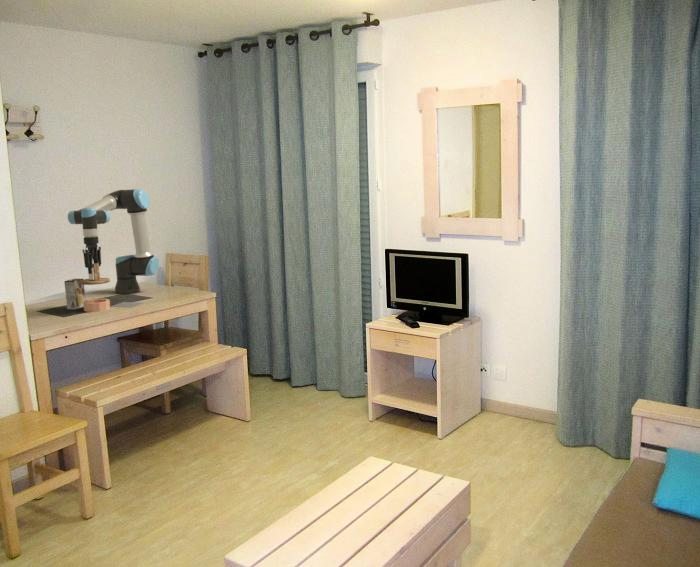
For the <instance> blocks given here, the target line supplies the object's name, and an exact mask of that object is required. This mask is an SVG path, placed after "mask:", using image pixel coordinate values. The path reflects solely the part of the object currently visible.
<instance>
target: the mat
mask: <svg viewBox="0 0 700 567" xmlns="http://www.w3.org/2000/svg"><path fill="white" fill-rule="evenodd" d="M143 304H144V302H138V301H137V302H135V301H134V302H133V301H132V302H129V301H123V302H120V303H119V302H118V303H117V304H114V305H113V304H112V305H110V308H127V309H128V308H129V309H130V308H132V309H133V308H134V307H138V306H139V305H143Z"/></svg>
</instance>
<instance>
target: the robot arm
mask: <svg viewBox="0 0 700 567" xmlns="http://www.w3.org/2000/svg"><path fill="white" fill-rule="evenodd" d="M150 202H151V201H150V197H149V194H148V193H147V192H146V190H144V189H138V188H134V189H118V190H115V191H113V192H112V191H111V192H110V193H108V194H106V195H104V196H103V197H102V198H101V199H99V200H97V201H95V202H93V203H91V204H89V205H87V206H85V207H82V208H80V209H78V210H70V211H68V214H67V221H68V222H69V224H72V225H82V236H83V244H84V245H85V248H83V249H82V251H81V252H82V254H83V260H84V267H85V268H86V269H87V272H88V279H89V280H94V269H93V268H92V263H99V267H101V265H102V254H101V253H102V252H101V250H102V247H101V246H98V244H99V243H100V242H99V241H100V240H99V231H98V230H99V229H98V225H105V224H107V223H109V222H110V220H111V214H110V213H109V211H110V212H111V211H115V210H126V212H127V214H128V215H129V216H130V221H131V229H132V235H133V240H134V247H135V254H127V255H121V256H117V257H116V258H115V264H114V265H115V269H116V270H115V272H116V284H115V288H114V294H117V295H118V294H119V295H126V294H127V295H128V294H134V293H136V294H137V293H139V292H141V287H140V285H139V283H138V282H139V281H138V280H137V277H138V276H139V277H140V276H141V277H142V276H144V277H145V276H146V277H149V276H155V275H156V273H157V272H158V270H159V265H160V264H159V259H158V257H156V256H154V252H152V251H151V245H150V239H149V233H148V226H147V219H146V212H148V210H147V209H148V208H149V207H150V204H151V203H150Z"/></svg>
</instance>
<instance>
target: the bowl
mask: <svg viewBox="0 0 700 567" xmlns="http://www.w3.org/2000/svg"><path fill="white" fill-rule="evenodd" d="M83 305H84V307H83V311H84V312H87V313H88V312H89V313H96V312H97V313H98V312H105V311H108V310H110V309H111V307H110V306H111V301H110V299H109V298H95V299H94V298H93V299H87V300H86V301H84V302H83Z"/></svg>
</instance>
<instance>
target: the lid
mask: <svg viewBox="0 0 700 567" xmlns="http://www.w3.org/2000/svg"><path fill="white" fill-rule="evenodd" d="M92 268H93V269H94V280H89V278H83V280H80V281H79V284H82V285H84V286H85V285H87V286H89V285H91V286H92V285H101V284H107V283H110V282H111V278H108V277H100V276H101V275H100V266H99V263H94V262H92Z"/></svg>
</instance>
